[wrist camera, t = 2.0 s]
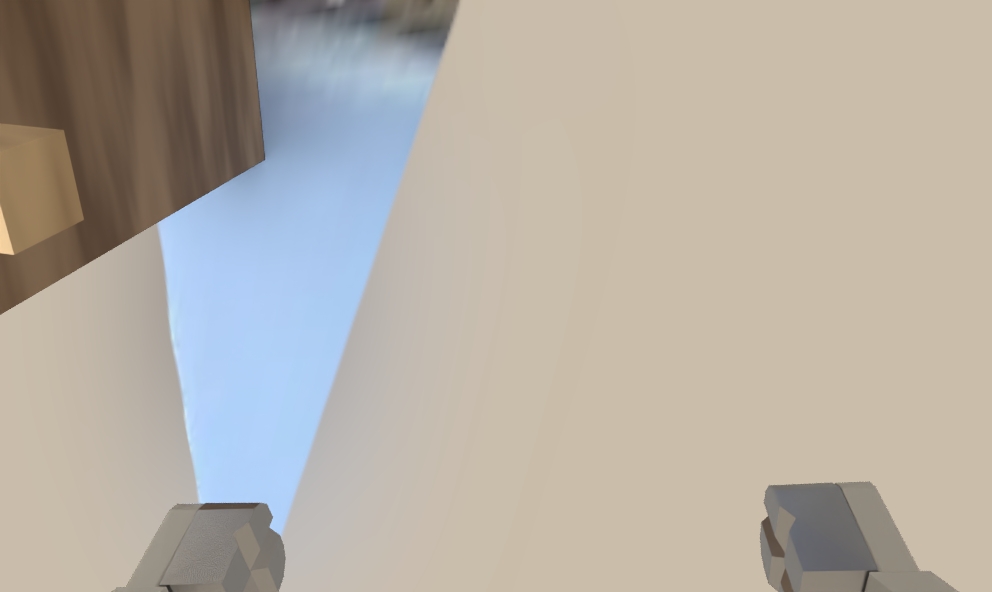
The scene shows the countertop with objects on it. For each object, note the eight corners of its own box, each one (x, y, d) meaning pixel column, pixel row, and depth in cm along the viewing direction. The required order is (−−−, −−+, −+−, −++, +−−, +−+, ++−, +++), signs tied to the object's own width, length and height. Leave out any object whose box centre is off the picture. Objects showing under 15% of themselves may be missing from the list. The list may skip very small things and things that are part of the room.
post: (210, 153, 53) (-123, 320, 30) (177, -94, 46) (-297, -124, 23) (264, 159, 52) (-34, 334, 29) (239, -91, 45) (-183, -118, 22)
